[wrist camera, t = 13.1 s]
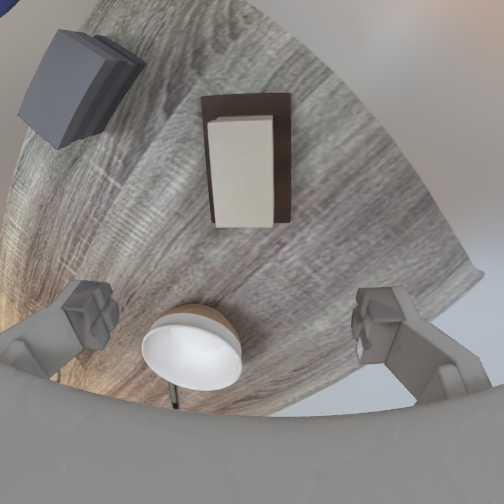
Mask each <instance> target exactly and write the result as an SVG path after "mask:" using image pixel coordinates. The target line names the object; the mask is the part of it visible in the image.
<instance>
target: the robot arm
mask: <svg viewBox="0 0 504 504" xmlns="http://www.w3.org/2000/svg"><path fill="white" fill-rule="evenodd" d="M112 293H113V291H112V289H111V286H110V284H108V283H106V282H97V281H87V280H72V281H70V282H69V283H68V284H67V286H66V287H65V288H64V289H63V291H62V292H61V293H60V294H59V296H58V297H57V298H56V299H55V301H54V302H53V303H52V304H51V306H50V307H48V306H47V307H45V308H43V309H41V310H40V311H38V312H36V313H34V314H33V315H31V316H29V317H27V318H26V319H24V320H22V321H21V322H19V323H17V324H15V325H14V326H12V327H10V328H9V329H7V330H5V331H4V332H2V333H1V334H0V504H504V384H502V385H498V386H495V387H492V385H491V383H490V381H489V378H488V376H487V374H486V372H485V370H484V368H483V365H482V363H481V361H480V359H479V357H477V356H476V355H474V354H473V353H471V352H470V351H469V350H468V349H466V348H465V347H464V346H462V345H461V344H459V343H458V342H457V341H455V340H454V339H452V338H451V337H450V336H448V335H447V334H445V333H444V332H443V331H441V330H440V329H438V328H437V327H435V326H434V325H433V324H431V323H430V322H428V321H427V320H426V319H425V320H421V318H420V316H419V314H418V312H417V309H416V307H415V305H414V303H413V301H412V300H411V298H410V296H409V294H408V292H407V290H406V288H405V287H404V286H392V287H377V288H359V289H358V291H357V295H356V301H357V306H356V307H355V308H354V309H353V313H352V321H351V328H352V335H353V338H354V339H355V340H356V341H358V342H357V345H356V352H357V357H358V361H359V364H380V363H385V366H386V367H387V368H388V369H389V370H390V371H391V372H392V373H393V374H394V375H395V376H396V378H397V379H398V380H399V381H400V382H401V383H402V384H403V385H404V386H405V387H406V388H407V390H408V391H409V392H410V393H411V394H412V395H413V396H414V397H415V398H416V399H417V402H416V403H415V405H414V406H412V407H405V408H399V409H392V410H385V411H377V412H368V413H358V414H348V415H347V414H346V415H332V416H311V417H260V416H238V415H224V414H212V413H202V412H193V411H185V410H178V409H171V408H164V407H158V406H152V405H146V404H141V403H136V402H131V401H126V400H121V399H117V398H112V397H108V396H104V395H100V394H96V393H92V392H88V391H84V390H81V389H77V388H74V387H70V386H67V385H64V384H60V383H57V382H54V381H51V380H50V377H52V376H53V375H54V374H55V373H56V372H57V371H59V370H60V369H61V368H62V367H63V366H64V365H66V364H67V363H68V362H69V361H70V360H72V359H73V358H74V357H75V356H76V355H77V354H79V353H80V352H81V351H82V350H83V349H84V348H88V349H94V350H101V351H103V350H104V348H105V346H106V344H107V342H108V340H109V339H110V334H109V332H110V331H111V330H113V329H114V328H115V327H116V325H117V323H118V319H119V308H118V305H117V302H116V301H115V300H114V299H113V298H112V297H111V296H112Z"/></svg>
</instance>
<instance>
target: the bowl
mask: <svg viewBox="0 0 504 504" xmlns="http://www.w3.org/2000/svg"><path fill="white" fill-rule="evenodd" d="M141 348H142V354H143V357H144V359H145V361H146V362H147V364H148V365H149V367H150V368H151V369H152V370H153V371H154V372H155V373H157V374H158V375H159V376H160V377H162V378H164V379H165V380H167V381H169V382H171V383H173V384H175V385H178V386H181V387H184V388H188V389H192V390H201V391H211V390H218V389H222V388H225V387H227V386H229V385H231V384H233V383H234V382H235V381H236V380H237V379H238V378H239V376H240V375H241V372H242V362H241V355H242V351H241V341H240V339H239V336H238V334H237V332H236V331H235V329H234V327H233V326H232V325H231V324H230V323H229V321H228V320H227V319H226V318H225V317H224V316H223V314H221V313H220V312H219V311H217V310H215V309H213V308H211V307H208V306H206V305H201V304H186V305H183V306H179V307H176V308H173V309H171V310H169V311H167V312H165V313H163V314H162V315H160V316H159V317H158V318H157V320H156V321H155V322H154V323H153V325H152V327H151V328H150V331H149V333H148V334H146V335H145V337H144V339H143V340H142V346H141Z"/></svg>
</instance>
